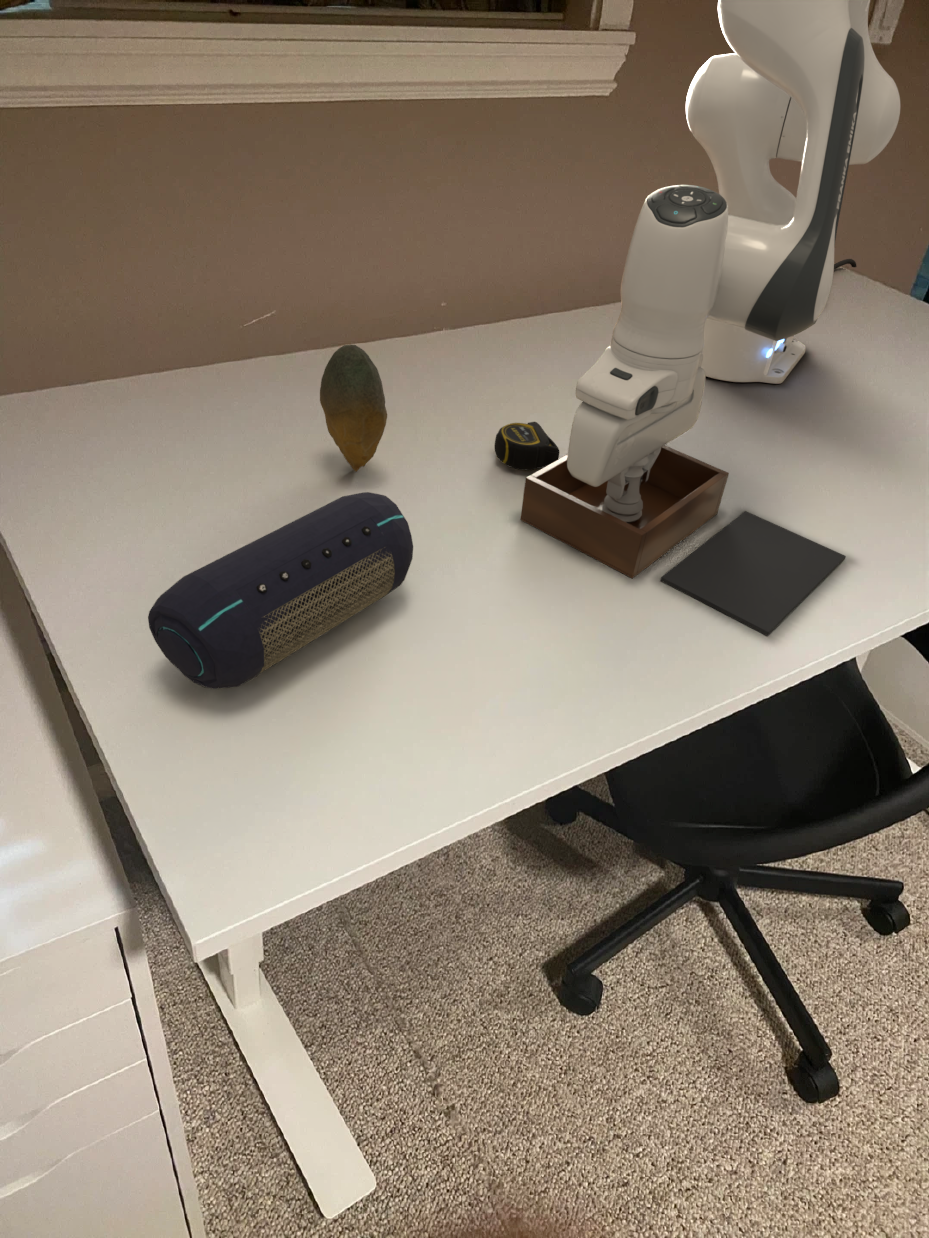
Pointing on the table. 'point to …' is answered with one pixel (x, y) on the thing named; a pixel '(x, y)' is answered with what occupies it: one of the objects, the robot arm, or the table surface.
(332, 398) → the green and yellow papaya
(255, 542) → the portable speaker
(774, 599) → the mat
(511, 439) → the tape measure
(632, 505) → the rook chess piece
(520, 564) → the table surface
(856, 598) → the table surface
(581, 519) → the open wooden box
